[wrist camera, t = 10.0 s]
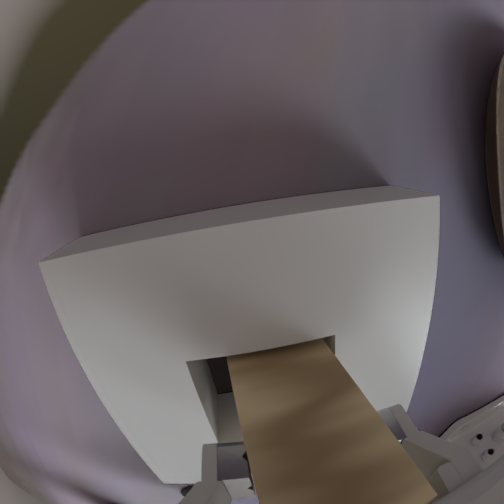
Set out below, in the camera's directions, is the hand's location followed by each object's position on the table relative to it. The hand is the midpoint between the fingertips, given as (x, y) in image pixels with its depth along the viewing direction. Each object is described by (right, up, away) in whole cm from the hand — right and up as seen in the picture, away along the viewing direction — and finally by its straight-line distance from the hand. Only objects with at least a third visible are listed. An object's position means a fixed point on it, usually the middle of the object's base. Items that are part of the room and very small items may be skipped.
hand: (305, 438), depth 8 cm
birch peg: (-1, +1, +5) cm, 5 cm away
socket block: (-2, +1, +7) cm, 7 cm away
